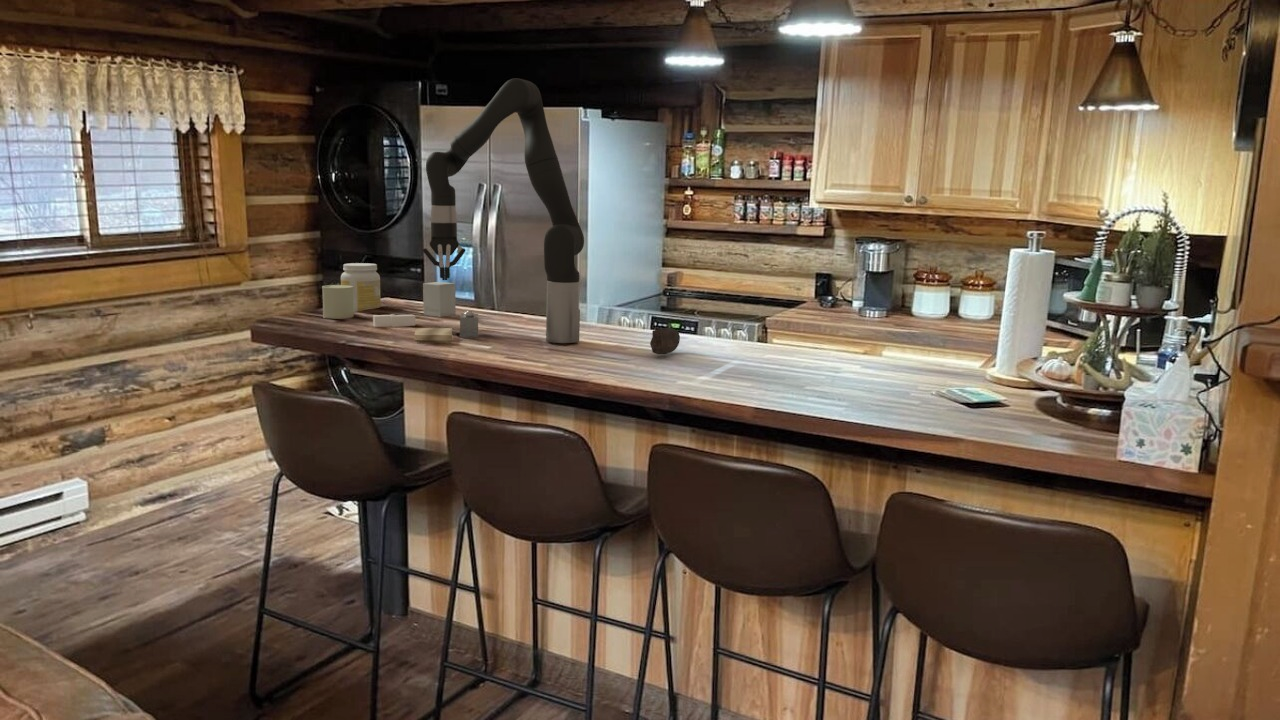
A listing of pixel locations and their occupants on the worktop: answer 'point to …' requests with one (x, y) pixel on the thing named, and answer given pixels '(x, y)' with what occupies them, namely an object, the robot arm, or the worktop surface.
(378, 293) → the supplement tub
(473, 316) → the block
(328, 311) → the can
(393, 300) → the worktop surface
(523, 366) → the worktop surface
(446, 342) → the stand
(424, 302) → the supplement box
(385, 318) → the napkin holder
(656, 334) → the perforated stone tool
